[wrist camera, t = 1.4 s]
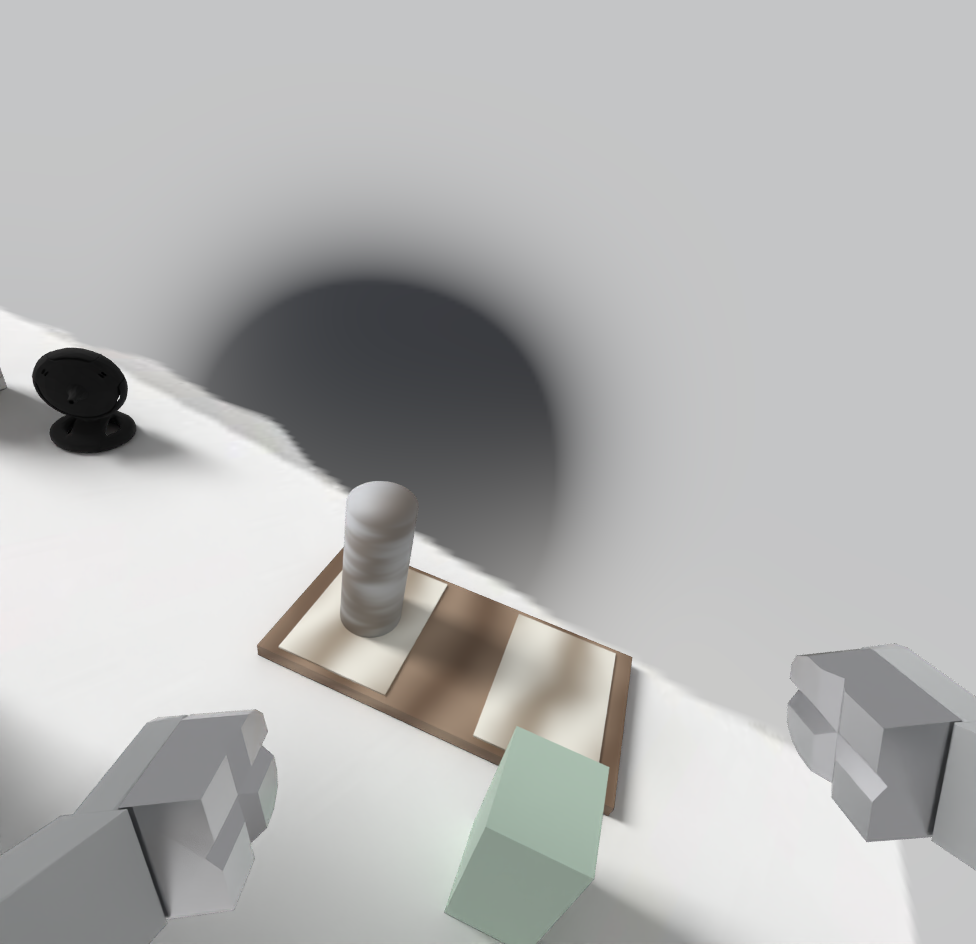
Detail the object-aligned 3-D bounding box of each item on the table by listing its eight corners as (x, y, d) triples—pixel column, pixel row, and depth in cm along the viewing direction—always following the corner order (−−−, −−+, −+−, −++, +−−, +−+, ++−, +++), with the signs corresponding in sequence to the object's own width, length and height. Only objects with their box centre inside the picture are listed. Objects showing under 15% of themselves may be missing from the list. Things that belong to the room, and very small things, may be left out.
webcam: (144, 417, 61) (127, 336, 55) (130, 454, 55) (110, 368, 50) (62, 416, 58) (36, 330, 52) (39, 454, 53) (7, 364, 47)
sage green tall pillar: (444, 912, 30) (485, 826, 23) (474, 821, 34) (516, 725, 27) (526, 954, 29) (594, 878, 22) (546, 856, 33) (609, 767, 26)
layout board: (257, 654, 40) (246, 526, 32) (348, 550, 51) (355, 434, 43) (607, 816, 36) (690, 711, 28) (627, 665, 46) (690, 559, 39)
